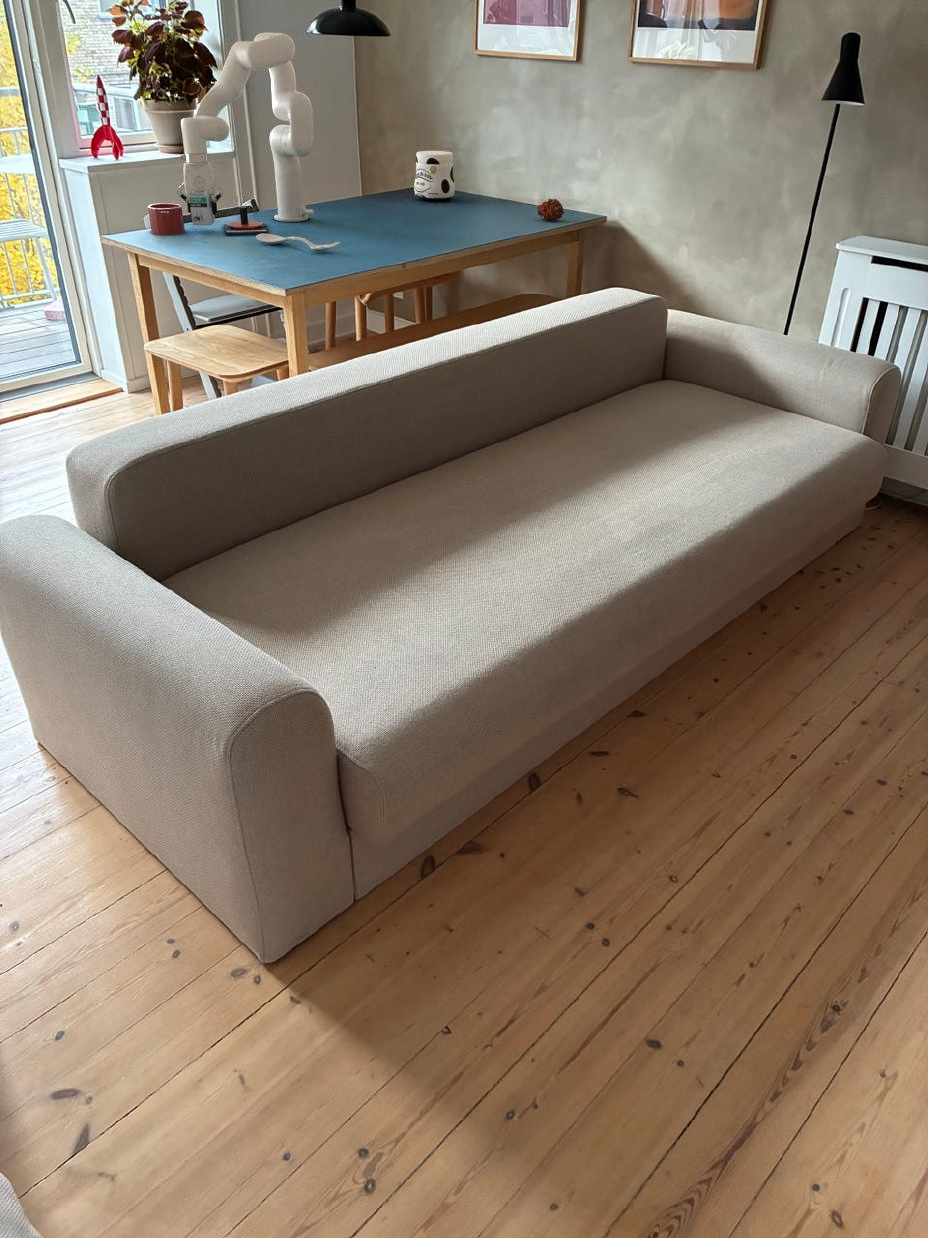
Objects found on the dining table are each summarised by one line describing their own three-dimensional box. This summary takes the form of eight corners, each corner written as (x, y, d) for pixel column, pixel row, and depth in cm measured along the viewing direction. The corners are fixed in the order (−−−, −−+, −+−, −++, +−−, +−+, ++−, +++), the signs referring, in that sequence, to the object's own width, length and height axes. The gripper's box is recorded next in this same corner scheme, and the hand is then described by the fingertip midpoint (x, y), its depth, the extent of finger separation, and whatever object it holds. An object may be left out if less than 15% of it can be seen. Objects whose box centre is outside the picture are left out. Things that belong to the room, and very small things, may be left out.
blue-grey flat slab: (263, 224, 347) (263, 221, 346) (267, 234, 330) (267, 231, 330) (224, 225, 344) (223, 222, 343) (226, 235, 327) (226, 232, 327)
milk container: (410, 201, 396) (409, 154, 387) (418, 195, 411) (418, 149, 401) (450, 203, 394) (451, 155, 384) (458, 197, 408) (458, 151, 399)
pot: (184, 227, 339) (181, 201, 335) (185, 236, 326) (181, 209, 321) (152, 228, 337) (148, 202, 332) (151, 237, 323) (147, 210, 319)
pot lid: (261, 223, 343) (259, 203, 339) (263, 229, 333) (261, 209, 329) (226, 224, 340) (224, 204, 336) (228, 230, 330) (226, 210, 326)
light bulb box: (211, 225, 328) (208, 191, 322) (192, 225, 328) (187, 191, 322) (215, 220, 337) (211, 187, 332) (196, 220, 337) (192, 187, 331)
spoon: (323, 256, 302) (322, 245, 300) (251, 243, 317) (250, 232, 315) (341, 252, 308) (341, 240, 306) (270, 239, 323) (269, 228, 321)
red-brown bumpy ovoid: (561, 227, 361) (538, 227, 369) (572, 211, 363) (549, 212, 371) (551, 209, 355) (528, 210, 363) (563, 193, 357) (540, 194, 365)
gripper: (170, 160, 317) (177, 216, 326) (223, 159, 320) (229, 215, 330) (170, 157, 323) (177, 213, 332) (222, 157, 327) (228, 212, 336)
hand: (203, 214), depth 331 cm, fingers closed on light bulb box, 7 cm apart
